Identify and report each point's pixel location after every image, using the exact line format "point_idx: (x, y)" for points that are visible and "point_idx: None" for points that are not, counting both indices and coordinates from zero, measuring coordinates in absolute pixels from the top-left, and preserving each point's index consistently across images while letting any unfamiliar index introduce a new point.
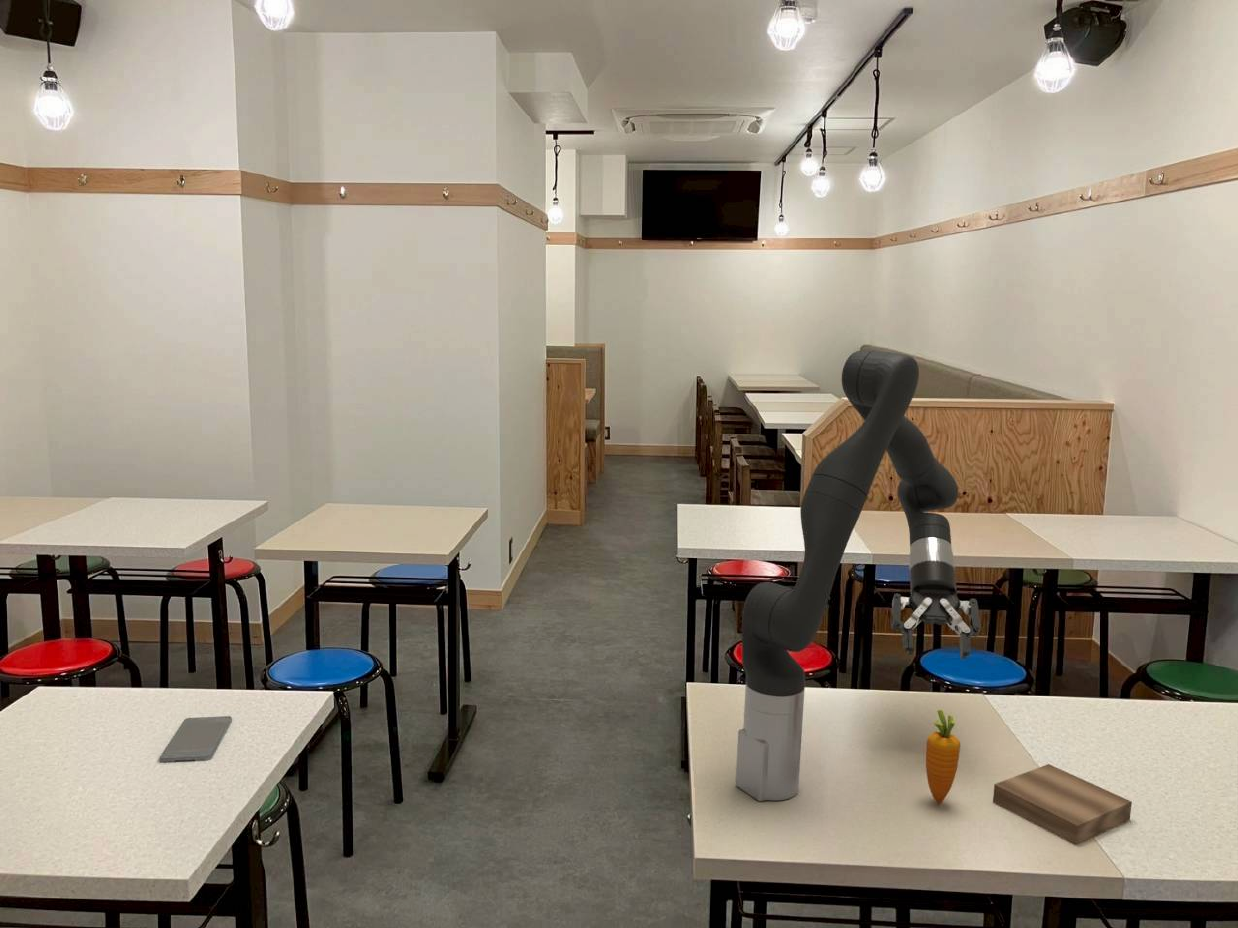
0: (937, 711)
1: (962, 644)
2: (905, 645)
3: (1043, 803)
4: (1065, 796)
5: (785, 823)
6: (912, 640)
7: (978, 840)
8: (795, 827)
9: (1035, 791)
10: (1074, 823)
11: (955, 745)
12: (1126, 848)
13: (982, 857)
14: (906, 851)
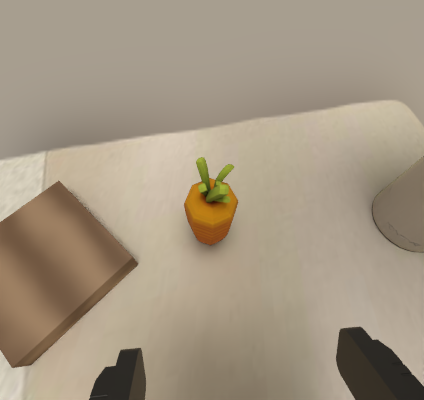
0: (228, 189)
1: (131, 383)
2: (383, 347)
3: (80, 221)
4: (39, 250)
5: (360, 154)
6: (370, 359)
7: (173, 174)
8: (349, 150)
9: (78, 252)
10: (60, 184)
11: (194, 184)
12: (12, 200)
13: (174, 147)
14: (244, 139)
